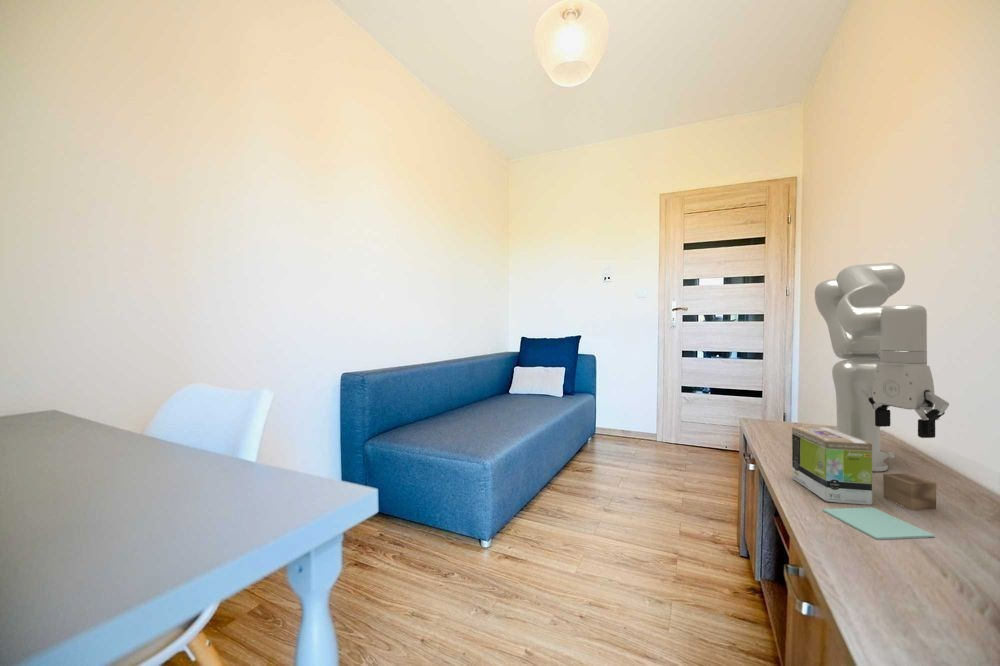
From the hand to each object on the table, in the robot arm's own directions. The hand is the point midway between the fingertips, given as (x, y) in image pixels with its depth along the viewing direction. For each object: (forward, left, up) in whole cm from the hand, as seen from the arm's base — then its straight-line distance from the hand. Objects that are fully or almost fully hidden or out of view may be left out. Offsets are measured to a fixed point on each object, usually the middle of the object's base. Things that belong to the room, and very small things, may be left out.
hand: (903, 431), depth 89 cm
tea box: (+11, -8, -17) cm, 22 cm away
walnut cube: (-1, 0, -17) cm, 17 cm away
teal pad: (+16, +8, -17) cm, 24 cm away
